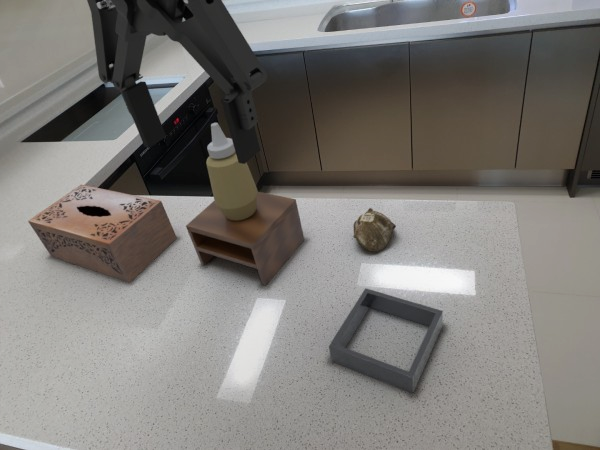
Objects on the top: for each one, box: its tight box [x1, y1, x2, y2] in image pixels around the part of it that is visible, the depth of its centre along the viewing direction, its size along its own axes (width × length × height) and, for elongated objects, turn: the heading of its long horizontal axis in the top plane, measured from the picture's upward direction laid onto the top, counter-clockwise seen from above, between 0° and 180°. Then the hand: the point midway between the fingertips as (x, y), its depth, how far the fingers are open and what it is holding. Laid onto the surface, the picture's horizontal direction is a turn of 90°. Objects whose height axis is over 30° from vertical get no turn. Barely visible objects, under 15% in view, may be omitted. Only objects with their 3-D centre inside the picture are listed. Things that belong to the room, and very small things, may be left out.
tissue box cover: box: [27, 184, 178, 283], centre depth 99 cm, size 26×14×10 cm, turn 61°
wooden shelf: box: [185, 191, 305, 287], centre depth 89 cm, size 14×16×10 cm
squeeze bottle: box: [205, 122, 259, 221], centre depth 81 cm, size 8×8×18 cm
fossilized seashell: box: [352, 207, 397, 252], centre depth 88 cm, size 8×7×10 cm
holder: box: [328, 287, 444, 394], centre depth 68 cm, size 13×13×4 cm
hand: (199, 149), depth 49 cm, fingers open, 13 cm apart
